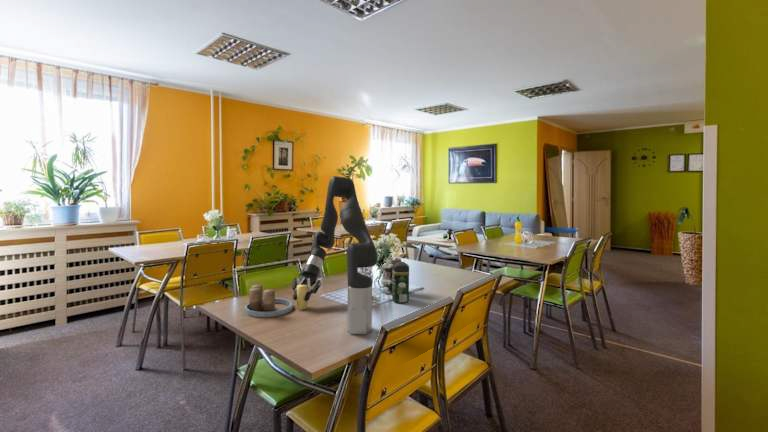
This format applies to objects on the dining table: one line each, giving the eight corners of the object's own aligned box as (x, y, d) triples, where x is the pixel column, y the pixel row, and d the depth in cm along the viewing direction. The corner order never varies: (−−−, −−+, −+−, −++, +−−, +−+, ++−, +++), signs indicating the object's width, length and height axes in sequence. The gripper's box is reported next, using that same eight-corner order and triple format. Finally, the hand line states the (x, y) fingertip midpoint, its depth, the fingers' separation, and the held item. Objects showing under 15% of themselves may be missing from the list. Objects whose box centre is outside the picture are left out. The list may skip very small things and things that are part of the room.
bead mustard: (306, 309, 162) (306, 287, 162) (295, 309, 162) (295, 287, 162) (308, 306, 167) (308, 284, 166) (298, 306, 167) (298, 284, 166)
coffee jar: (391, 297, 182) (391, 260, 181) (407, 297, 182) (407, 260, 181) (392, 303, 172) (393, 264, 171) (409, 303, 173) (410, 264, 171)
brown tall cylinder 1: (260, 309, 161) (260, 287, 161) (250, 309, 162) (249, 287, 161) (264, 306, 166) (263, 284, 165) (254, 306, 166) (253, 284, 165)
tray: (284, 317, 152) (284, 313, 152) (236, 316, 152) (236, 311, 152) (297, 302, 172) (297, 298, 172) (255, 301, 172) (255, 297, 172)
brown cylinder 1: (258, 313, 156) (258, 290, 155) (247, 313, 156) (247, 290, 155) (262, 310, 161) (262, 287, 160) (252, 310, 161) (251, 287, 160)
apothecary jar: (403, 289, 197) (404, 256, 196) (404, 296, 185) (404, 260, 184) (381, 289, 198) (381, 255, 196) (380, 295, 186) (380, 260, 184)
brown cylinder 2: (272, 315, 154) (272, 292, 153) (262, 315, 154) (261, 292, 153) (276, 312, 159) (276, 289, 158) (265, 311, 159) (265, 289, 158)
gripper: (296, 262, 172) (282, 294, 162) (324, 264, 168) (311, 297, 158) (302, 270, 178) (288, 302, 167) (329, 273, 174) (317, 305, 163)
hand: (300, 299), depth 163 cm, fingers open, 5 cm apart
